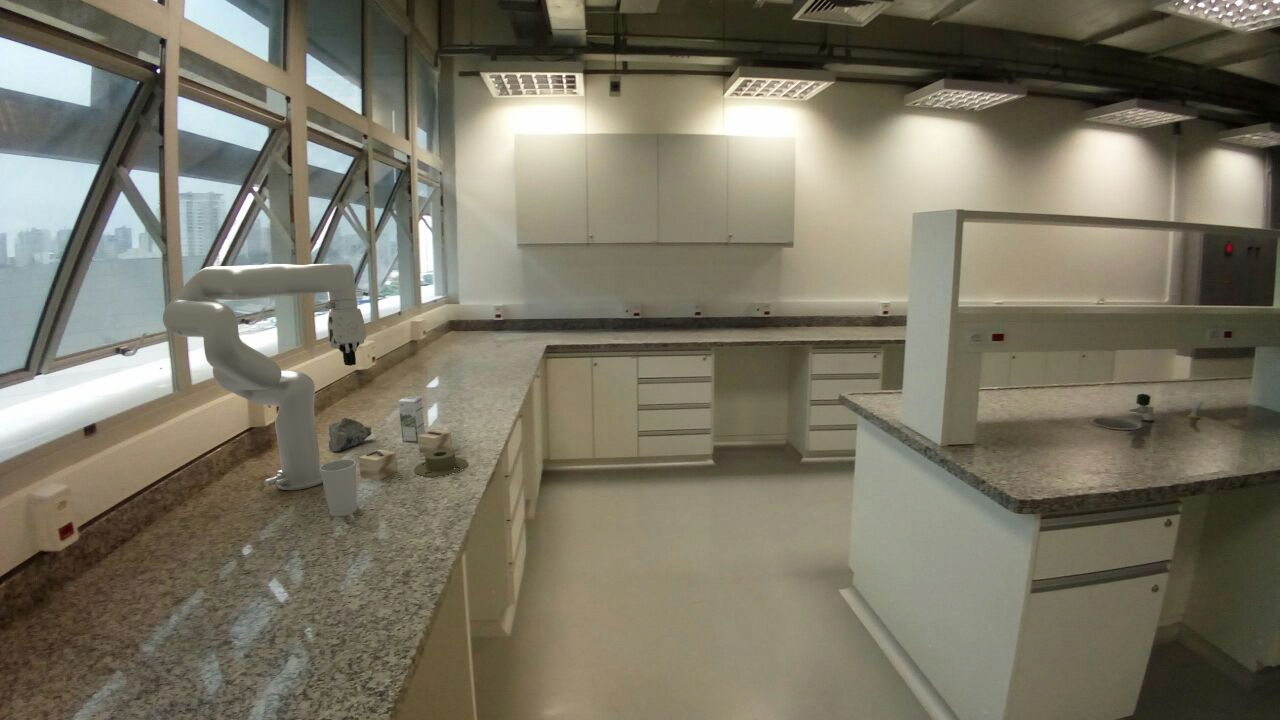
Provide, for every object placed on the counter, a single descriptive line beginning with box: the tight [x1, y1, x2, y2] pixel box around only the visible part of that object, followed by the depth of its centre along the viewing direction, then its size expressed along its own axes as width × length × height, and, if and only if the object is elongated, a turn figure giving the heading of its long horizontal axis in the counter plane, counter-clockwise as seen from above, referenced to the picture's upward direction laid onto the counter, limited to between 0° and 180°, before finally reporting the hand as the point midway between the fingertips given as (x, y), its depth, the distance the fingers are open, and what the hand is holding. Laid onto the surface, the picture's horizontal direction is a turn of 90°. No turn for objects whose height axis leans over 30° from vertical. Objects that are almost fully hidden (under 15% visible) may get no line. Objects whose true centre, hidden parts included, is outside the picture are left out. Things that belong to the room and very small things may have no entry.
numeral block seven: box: [358, 448, 399, 481], centre depth 169 cm, size 7×7×6 cm
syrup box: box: [398, 396, 426, 443], centre depth 199 cm, size 6×6×14 cm
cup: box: [320, 458, 358, 517], centre depth 145 cm, size 8×8×12 cm
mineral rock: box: [328, 417, 373, 452], centre depth 194 cm, size 13×11×10 cm
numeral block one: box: [418, 429, 453, 455], centre depth 187 cm, size 7×7×6 cm
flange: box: [413, 449, 468, 478], centre depth 174 cm, size 5×15×15 cm
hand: (350, 364), depth 181 cm, fingers closed
